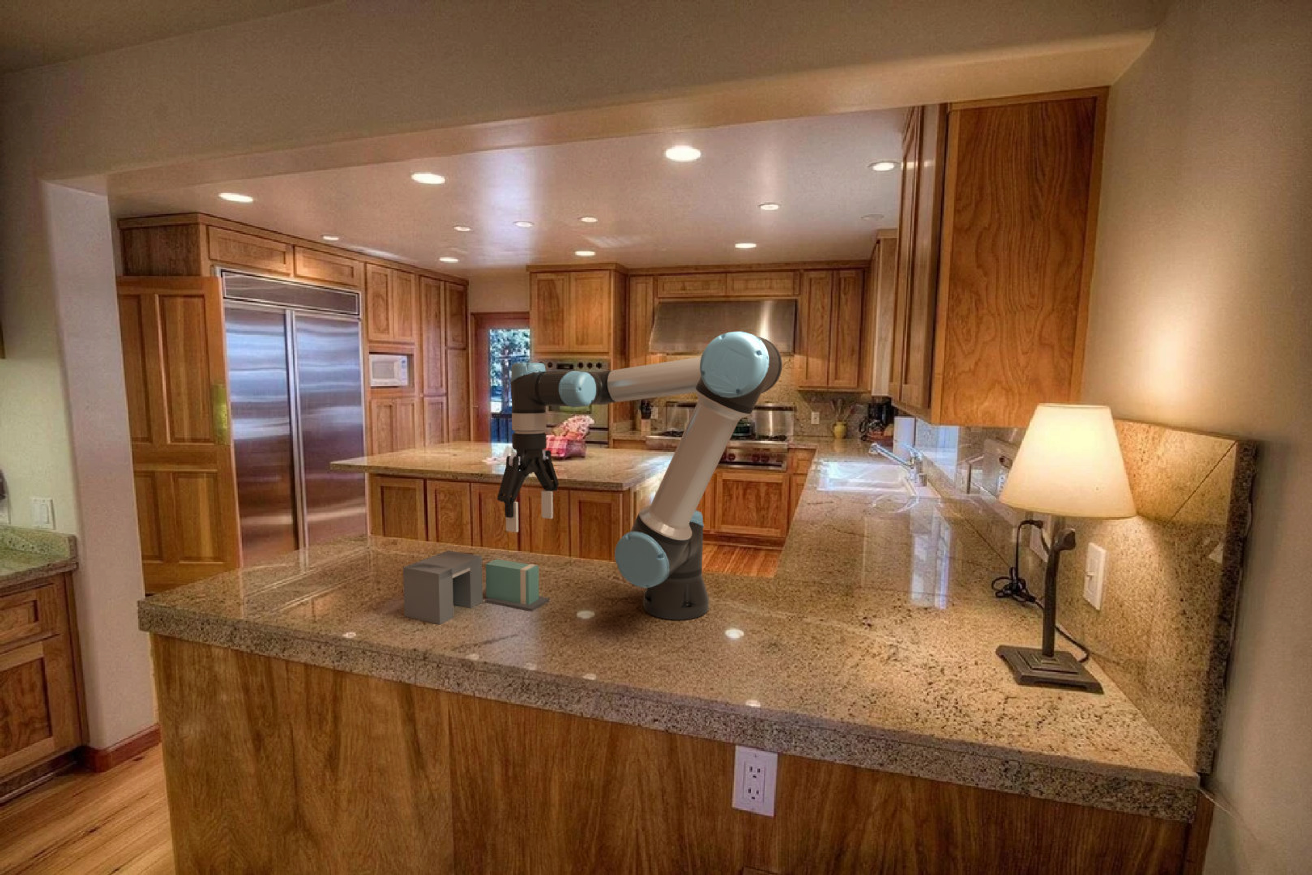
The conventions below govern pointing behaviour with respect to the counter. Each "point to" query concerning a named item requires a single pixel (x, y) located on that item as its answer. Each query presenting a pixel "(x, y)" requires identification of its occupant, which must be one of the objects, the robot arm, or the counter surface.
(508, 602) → the pad
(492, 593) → the banded gift box
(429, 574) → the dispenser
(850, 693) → the counter surface
